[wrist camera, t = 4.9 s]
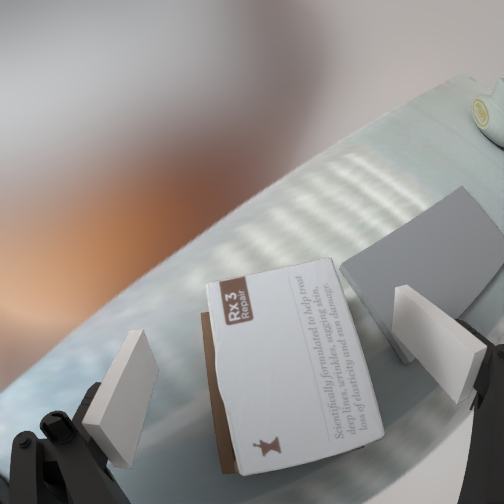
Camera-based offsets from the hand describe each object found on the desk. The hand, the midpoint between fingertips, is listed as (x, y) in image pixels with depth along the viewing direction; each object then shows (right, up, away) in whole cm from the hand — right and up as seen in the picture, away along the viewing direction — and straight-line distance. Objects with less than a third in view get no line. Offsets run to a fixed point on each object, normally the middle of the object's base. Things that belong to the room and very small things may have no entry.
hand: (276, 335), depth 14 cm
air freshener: (+37, +23, +17) cm, 47 cm away
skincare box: (+1, -5, +4) cm, 6 cm away
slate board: (+15, +3, +7) cm, 17 cm away
